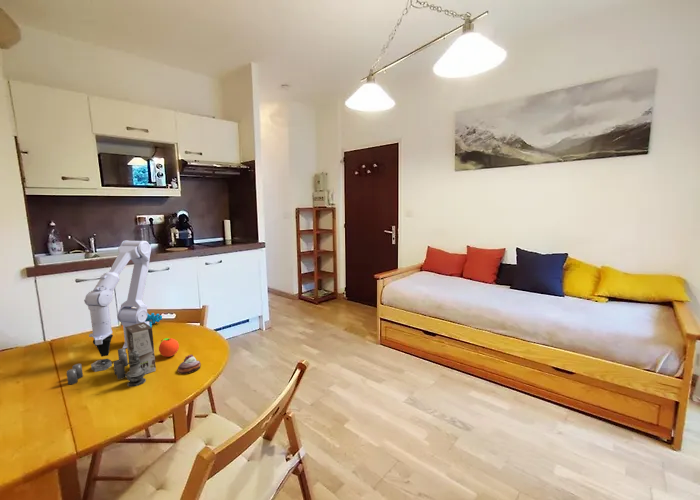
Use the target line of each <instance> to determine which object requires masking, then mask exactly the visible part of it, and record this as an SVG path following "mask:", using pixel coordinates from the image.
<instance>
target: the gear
mask: <svg viewBox="0 0 700 500" xmlns="http://www.w3.org/2000/svg"><path fill="white" fill-rule="evenodd" d="M162 320H163V315H161V314H160V313H156V314H155V312H151V314H149V312H147V318H146V320H145V322H146V321H149V324H150V327H152V328H153V325H154V324H156V322H157V323H160V321H162Z"/></svg>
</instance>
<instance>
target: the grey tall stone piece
mask: <svg viewBox="0 0 700 500" xmlns="http://www.w3.org/2000/svg"><path fill="white" fill-rule="evenodd" d="M140 361H141V360H140V359H139V353H138V351H134V349H132V352H130V353H129V357H128V365H129V371H127V372H125V376H126V377H125V378H126V379H127V381H128V382H127V385H126V386H127V387H129V388H135V387H138V386H141V385H143V384H145V383H146V381H147V379H146V378H145V375H146V374H145V372H146V369H144V368H141V367H140Z"/></svg>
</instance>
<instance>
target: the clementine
mask: <svg viewBox="0 0 700 500" xmlns="http://www.w3.org/2000/svg"><path fill="white" fill-rule="evenodd" d="M179 348H180V345H179V341H178V340H176V339H174V338H167V337H166V338H163V339H161V341H160V343H159V345H158V352H159V353H160V355H161V356H162V357H165V358H166V357H167V358H168V357H173V356H174V355H176V354H177V352H178V351H179Z"/></svg>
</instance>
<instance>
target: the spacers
mask: <svg viewBox="0 0 700 500" xmlns="http://www.w3.org/2000/svg"><path fill="white" fill-rule="evenodd" d="M126 349H127V348H123V347H122V348H118V349H117V355H118V359H117V360H114V361H113V362H112V364H113V371H114V375H115V376H116V378H117V380H123V379H125V378H127V377H126V376H125V374H126V367H127V366H128V365H129V364H128V362H129V360H128V352H127V351H126ZM71 367H72V368H70V369H68V370H66V378H67V384H68V385H69V386H70V385H75V384H77V383H78V380H79V379H81V378H83V377H84V375H83V368H82V363H75V364H74V365H72V366H71Z"/></svg>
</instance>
